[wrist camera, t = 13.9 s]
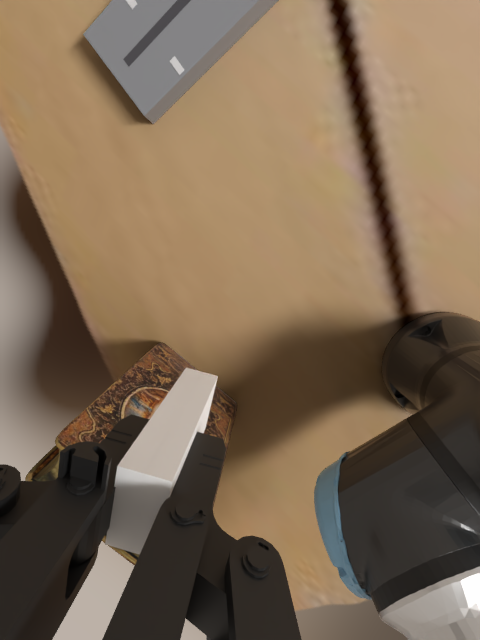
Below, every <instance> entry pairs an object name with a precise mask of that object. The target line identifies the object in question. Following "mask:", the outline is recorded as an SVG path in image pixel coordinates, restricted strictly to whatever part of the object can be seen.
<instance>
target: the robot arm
mask: <svg viewBox="0 0 480 640" xmlns="http://www.w3.org/2000/svg"><path fill="white" fill-rule="evenodd" d="M382 375H383V379H384V382H385V385H386V387H387V389H388V390H389V392H390V393H391V395H392V396H393V398H394V399H395V400H396V401H397V403H398V404H399V405H400V406H402V407H403V408H404V409H405V410H407V411H408V412H410V413H411V414H413V415H412V416H410V417H408V418H406V419H404V420H403V421H401V422H399V423H398V424H396V425H395V426H393V427H391V428H390V429H388V430H386V431H385V432H383V433H381V434H379V435H378V436H376V437H374V438H373V439H371V440H369V441H367V442H366V443H364V444H362V445H361V446H359V447H357V448H355V449H354V450H352V451H350V452H346V453H344V454H343V455H342V456H341V457H340V458H339V460H337V461H336V462H334V463H333V464H331V465H330V466H328V467H327V468H325V469H324V470H323V471H322V472H321V473H320V475H319V476H318V478H317V482H316V486H315V490H314V503H315V512H316V517H317V522H318V526H319V530H320V533H321V536H322V539H323V543H324V545H325V548H326V550H327V553H328V555H329V557H330V560H331V562H332V564H333V565H334V566H335V567H337V568H338V571H339V576H340V578H341V580H342V581H343V583H344V584H345V585H346V587H347V588H348V589H349V590H350V591H351V592H352V593H354V594H355V595H356V596H358V597H360V598H366V599H369V600H371V599H372V600H373V602H374V605H375V607H376V609H377V611H378V614H379V616H380V618H381V620H382V621H383V622H385V623H387V624H388V625H390V626H392V627H393V628H395V629H396V630H398V631H399V632H401V633H402V634H404V635H405V636H406V637H407V638H408V639H409V640H480V322H479V321H477V320H474V319H472V318H470V317H467V316H465V315H461V314H457V313H434V314H429V315H425V316H422V317H420V318H417V319H415V320H413V321H412V322H410V323H408V324H407V325H405V326H404V327H403V328H401V329H400V330H399V331H398V332H397V333H396V334H395V335H394V337H393V338H392V339H391V341H390V342H389V344H388V346H387V348H386V350H385V353H384V356H383V361H382ZM217 378H218V376H216V375H212V374H208V373H205V372H201V371H197V370H194V369H190V368H186V369H185V370H184V371H183V373H182V374H181V376H180V377H179V379H178V380H177V381H176V383H175V384H174V386H173V387H172V389H171V390H170V391H169V393H168V394H167V396H166V397H165V399H164V400H163V401H162V403H161V404H160V406H159V407H158V409H157V410H156V411H155V413H154V414H153V416H152V417H151V419H147V418H143V417H139V416H136V415H132V414H131V415H129V416H127V417H125V418H123V419H121V420H119V421H118V423H117V424H116V425H115V426H114V427H113V428H112V430H111V431H110V432H109V433H108V434H107V435H106V437H105V439H103V440H102V441H101V442H100V443H97V442H90V441H86V442H78V443H75V444H72V445H69V446H67V447H66V448H64V449H63V450H61V451H60V459H59V469H58V477H57V478H56V480H52V481H21V477H20V472H19V471H18V470H17V469H16V468H15V467H12V466H8V465H0V640H52V639H53V637H54V635H55V633H56V632H57V630H58V628H59V626H60V624H61V623H62V621H63V619H64V617H65V616H66V613H67V612H68V610H69V608H70V607H71V605H72V603H73V601H74V599H75V598H76V596H77V594H78V592H79V590H80V589H81V587H82V585H83V583H84V581H85V579H86V578H87V576H88V574H89V572H90V571H91V569H92V567H93V565H94V563H95V560H96V557H97V553H98V546H99V545H100V543H101V541H102V539H103V538H104V536H105V534H106V532H107V536H106V542H105V544H106V545H109V546H113V547H116V548H119V549H123V550H126V551H129V552H133V553H136V554H139V557H138V560H137V562H136V564H135V566H134V569H133V571H132V573H131V576H130V578H129V580H128V582H127V585H126V587H125V589H124V592H123V594H122V596H121V598H120V601H119V603H118V605H117V608H116V610H115V612H114V615H113V617H112V619H111V621H110V624H109V626H108V628H107V630H106V633H105V635H104V637H103V639H102V640H180V638H181V633H182V630H183V626H184V622H185V618H186V619H187V620H189V621H190V622H191V623H192V624H193V625H195V626H196V627H197V628H198V629H199V630H201V631H202V632H203V633H205V634H206V635H207V640H301V636H300V632H299V627H298V623H297V619H296V615H295V611H294V606H293V602H292V598H291V594H290V590H289V586H288V581H287V577H286V573H285V569H284V565H283V562H282V559H281V557H280V555H279V552H278V551H277V550H276V549H275V548H274V547H273V545H272V544H270V543H269V542H267V541H266V540H264V539H263V538H259V537H255V536H246V537H242V538H241V539H239V540H236V539H234V538H233V537H231V536H230V535H228V534H227V533H226V532H224V531H223V530H222V529H221V528H220V527H219V525H218V524H217V522H216V520H215V518H214V515H213V502H214V498H215V494H216V490H217V486H218V482H219V478H220V474H221V470H222V466H223V461H224V457H225V453H226V446H225V443H224V440H223V439H222V438H218V437H215V436H211V435H208V434H204V431H205V428H206V424H207V420H208V416H209V412H210V407H211V403H212V399H213V395H214V390H215V386H216V382H217Z"/></svg>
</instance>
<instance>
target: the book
mask: <svg viewBox="0 0 480 640" xmlns="http://www.w3.org/2000/svg"><path fill="white" fill-rule="evenodd" d="M186 368H190V369H194V370H196V369H195V368H194V367H193V366H192V365H190V364H189V363H188V362H187V361H186V360H184V359H183V358H182V357H181V356H180V355H178V354H177V353H176V352H175V351H173V350H172V349H171V348H170V347H168V346H167V345H166V344H164V343H158V344H156V345H155V346H154V347H153V348H152V349H151V350H150V351H149V352H147V353H146V354H145V355H144V356H143V357H142V358H141V359H140V360H139V361H138V362H137V363H135V364H134V365H133V366H132V367H131V368H130V369H129V370H128V371H127V372H126V373H124V374H123V375H122V376H121V377H120V378H119V379H118V380H117V381H116V382H115V383H113V384H112V385H111V386H110V387H109V388H108V389H107V390H106V391H105V392H104V393H103V394H102V395H100V396H99V397H98V398H97V399H96V400H95V401H94V402H93V403H92V404H91V405H89V406H88V407H87V408H86V409H85V410H84V411H83V412H82V413H81V414H80V415H79V416H77V417H76V418H75V419H74V420H73V421H72V422H71V423H70V424H69V425H68V426H66V427H65V428H64V430H62V432H61V433H60V434H59V435H58V436H57V438H56V440H55V443H56V446H55V447H54V448H52V450H50V451H49V452H48V453H47V454H46V455H45V456H44V457H43V458H42V459H41V460H40V461H39V462H38V463H37V464H36V465H35V466H34V467H33V468H32V469H31V470H30V471H29V473H28V474H27V476H26V481H52V480H56V478H57V477H58V469H59V459H60V451H61V450H63V449H64V448H66V447H67V446H69V445H72V444H75V443H78V442H86V441H90V442H97V443H100V442H101V441H102V440H103V439H105V437H106V435H107V434H108V433H109V432H110V431H111V430H112V428H113V427H114V426H115V425H116V424H117V423H118V421H119V420H121V419H123V418H125V417H127V416H129V415H131V414H132V415H136V416H139V417H143V418H147V419H151V417H152V416H153V414H154V413H155V411H156V410H157V409H158V407H159V406H160V404H161V403H162V401H163V400H164V399H165V397H166V396H167V394H168V393H169V391H170V390H171V389H172V387H173V386H174V384H175V383H176V381H177V380H178V379H179V377H180V376H181V374H182V373H183V371H184V370H185V369H186ZM197 371H198V370H197ZM236 410H237V403H236V402H235V401H234V400H233V399H231V398H230V397H229V396H228V395H227V394H225V393H224V392H223V391H222V390H221V389H219V388H218V387H217V386H215V390H214V395H213V399H212V403H211V407H210V412H209V416H208V420H207V424H206V428H205V431H204V434H208V435H211V436H215V437H218V438H222V439H223V440H224V443H225V446H226V452H227V448H228V444H229V439H230V435H231V431H232V427H233V423H234V419H235V415H236ZM225 456H226V453H225ZM224 460H225V457H224ZM223 464H224V461H223ZM222 469H223V466H222ZM221 473H222V470H221ZM220 477H221V474H220ZM219 481H220V478H219ZM218 485H219V482H218ZM217 489H218V486H217ZM216 494H217V490H216ZM216 494H215V498H216ZM215 498H214V502H215ZM214 502H213V506H214ZM106 536H107V532H106V534H105V536H104V538H103V539H102V541H103V542H104V543H105V542H106ZM108 546H109V545H108ZM109 547H111V548H112V549H114V550H115V551H116V552H118V553H119V554H120V555H121V556H123V557H124V558H126V559H127V560H128V561H129V562H131V563H132V564H133V565H135V564H136V562H137V560H138V557H139V554H136V553H133V552H129V551H126V550H123V549H119V548H116V547H113V546H109Z"/></svg>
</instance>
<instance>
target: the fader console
mask: <svg viewBox="0 0 480 640" xmlns="http://www.w3.org/2000/svg"><path fill="white" fill-rule="evenodd" d="M277 1H278V0H112V1H111V2H110V4H109V5H108V6H107V7H106V8H105V9H104V11H103V12H102V13H101V14H100V15H99V16H98V18H97V19H96V20H95V21H94V22H93V23H92V25H91V26H90V27H89V28H88V29H87V30H86V32H85V33H84V34H83V35H84V36H85V37H86V39H87V40H88V41H89V43H90V44H91V45H92V47H93V48H94V49H95V51H96V52H97V53H98V55H99V56H100V57H101V59H102V60H103V61H104V63H105V64H106V66H107V67H108V68H109V70H110V71H111V72H112V74H113V75H114V76H115V78H116V79H117V80H118V82H119V83H120V84H121V86H122V87H123V88H124V90H125V91H126V92H127V94H128V95H129V96H130V98H131V99H132V100H133V102H134V103H135V104H136V106H137V107H138V108H139V110H140V111H141V112H142V114H143V115H144V116H145V117H146V118H147V119H148V120H149V121H150V122H151V123H153V124H154V123H155V122H156V121H157V120H158V119H159V118H160V117H161V116H162V115H163V114H164V113H165V112H166V111H167V110H168V109H169V108H170V107H171V106H172V105H173V104H174V103H175V102H176V101H177V100H178V99H179V98H180V97H181V96H182V95H183V94H184V93H185V92H186V91H187V90H188V89H189V88H190V87H192V86H193V85H194V84H195V83H196V82H197V81H198V80H199V79H200V78H201V77H202V76H203V75H204V74H205V73H206V72H207V71H208V70H209V69H210V68H211V67H212V66H213V65H214V64H215V63H216V62H217V61H218V60H219V59H220V58H221V57H222V56H223V55H224V54H225V53H226V52H227V51H228V50H229V49H230V48H231V47H232V46H233V45H234V44H235V43H236V42H237V41H238V40H239V39H240V38H241V37H242V36H243V35H244V34H245V33H246V32H247V31H248V30H249V29H250V28H251V27H252V26H253V25H254V24H255V23H256V22H257V21H258V20H259V19H260V18H261V17H262V16H263V15H264V14H265V13H266V12H267V11H268V10H269V9H270V8H271V7H272V6H273V5H274V4H275V3H276V2H277Z"/></svg>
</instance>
